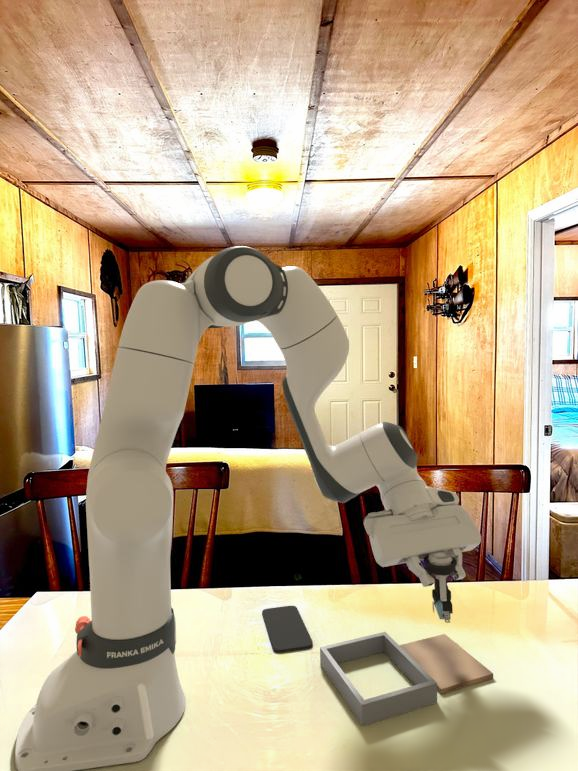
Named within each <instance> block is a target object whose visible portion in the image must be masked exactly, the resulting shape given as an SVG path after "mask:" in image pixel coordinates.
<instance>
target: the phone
mask: <svg viewBox="0 0 578 771" xmlns="http://www.w3.org/2000/svg"><path fill="white" fill-rule="evenodd" d="M261 614H262V618H263V621H264V625H265V629H266V632H267V635H268V639H269V642H270V644H271V648H272V651H273V652H274V653H276V654H282V653H288V652H289V653H291V652H296V651H303V650H308V649H311V648H312V647H313V646H314V644H313V640H312V637H311V635H310V633H309V631H308V628H307V627H306V625H305V622H304V620H303V618H302V616H301V613H300V611H299V609H298V608H297V606H296V605H283V606H279V607H278V606H276V607H269V608H265V609H263V610H262V612H261Z"/></svg>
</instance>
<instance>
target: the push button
mask: <svg viewBox="0 0 578 771" xmlns="http://www.w3.org/2000/svg"><path fill="white" fill-rule="evenodd" d="M423 564H424V568H425V569H424V570H425V571H426V572H431V573H432V575H433V576H435V577H434V580H435V583H434V584H433V585H434V589H432V590H431V594H432V595H431V596H432V600H433V601H432V612H433V613H435V610H436V612H437V613H436V614H437V616H438V618H439V620H444V623H446V624H447V623H448V624H449V623H450V624H451V614H453V603H452V601H451V600H452V591H451V590H450V589H449V586H448V578H447V577H448V576H449V577H450V576H452V575H451V574H452V573H454V572H455V571H456V565H457V561H456V559H455V558H453V557H451V554H450V553H448V552H445V551H438V552H433V553H429V555H428V556H426V557H425V558H424V559H423Z"/></svg>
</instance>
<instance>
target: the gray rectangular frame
mask: <svg viewBox="0 0 578 771" xmlns="http://www.w3.org/2000/svg"><path fill="white" fill-rule="evenodd" d="M399 645H400V644H399V643H397V641H396V640H394V638H392V637H391V636H390V635H389V634H388V633H387V631H382V632H377V633H375V634H369V635H366V636H362V637H356V638H353V639H349V640H344V641H340V642H337V643H333V644H329V645H325V646H320V647H319V657H320V659H319V664H320V666H321V668H322V670H324V671H323V672H325V674H326V675H327V676H328V678H329V679H330V681H331V682H332V684H333V686H334V687H335V688H336V690H337V691H338V693H339V694H340V695H341V697H342V698H343V700H344V701H345V703H346V704H347V706H348V708H349V709H350V710H351V712H352V713H353V715H354V716H355V718H356V719H357V721H358V722H359V724H360V725H361V726H362V727H363V726H366V725H369V724H372V723H373V724H374V723H376V722H379V721H383V720H385V719H389V718H392V717H395V716H398V715H399V716H400V715H402V714H404V713H405V714H406V713H409V712H411V711H414V710H418V709H421V708H425V707H428V706H431V705H435V704H437V703H438V690H437V682H436V681H435V680H434V679H432V678H431V677H430V676H429V675H428V674H427V673H426V672H425V671H424V670H423V669H422V668H421V667H420V666H419V665H418V664H417V663H416V662H415V661H414V660H413V659H412V658H411V657H410V656H409V655H408V654H407V653H406V652H405V651H404V650H403V649H402V648H401V647H400V646H399ZM381 653H385V655H386V656H387V657H388V658H389V659H390V660H391V661H392V662H393V663H394V664H395V666H397V667H398V668H399V670H400V671H401V672H402V673H403V674H404V675H405V676H406V677H407V678H408V679H409V680H410V682H411V683H413V685H411V686H408V687H404V688H400V689H398V690H394V691H390V692H387V693H384V694H380V695H375V696H373V697H370V698H367V699H364V698H363V696H362V695H361V694H360V692H359V691H358V689H357V688H356V687H355V686H354V684H353V683H352V681H351V680H350V679H349V677H348V676H347V675H346V673H345V672H344V671H343V669H342V668H341V667H340V665H339V664H341V663H345V662H349V661H352V660H357V659H361V658H364V657H368V656H372V655H376V654H381Z"/></svg>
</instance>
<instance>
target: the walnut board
mask: <svg viewBox="0 0 578 771" xmlns="http://www.w3.org/2000/svg"><path fill="white" fill-rule="evenodd" d="M398 645H399V646H400V647H401V648H402V649H403V650H404V651H405V652H406V653H407V654H408V655H409V656H410V657H411V658H412V659H413V660H414V661H415V662H416V663H417V664H418V665H419V666H420V667H421V668H422V669H423V670H424V671H425V672H426V673H427V674H428V675H429V676H430V677H431V678H432V679H434V680H435V681H436V682H437V692H438V693H439V694H441V695H442V694H446V693H450V692H452V691H457V690H459V689H462V688H466V687H469V686H472V685H476V684H478V683H479V684H480V683H482V682H486V681H489V680H493V679H494V672H492V671H491V670H490V669H488V668H487V667H486V666H485V665H484V664H482V663H481V661H478V659H476V658H475V657H474V656H473V655H471V654H470V653H469V652H467V651H466V649H465V648H463V647H462V646H460V645H459V644H458V643H457V642H455V641H454V640H453V639H452V638H450V636H448V635H447V634H445V633H443V634H439V635H435V636H431V637H427V638H423V639H419V640H415V641H411V642H407V643H403V644H398Z"/></svg>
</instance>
